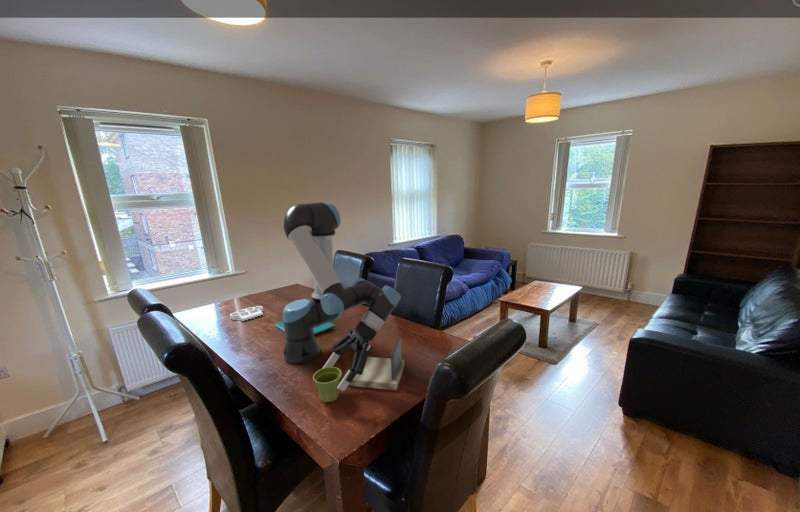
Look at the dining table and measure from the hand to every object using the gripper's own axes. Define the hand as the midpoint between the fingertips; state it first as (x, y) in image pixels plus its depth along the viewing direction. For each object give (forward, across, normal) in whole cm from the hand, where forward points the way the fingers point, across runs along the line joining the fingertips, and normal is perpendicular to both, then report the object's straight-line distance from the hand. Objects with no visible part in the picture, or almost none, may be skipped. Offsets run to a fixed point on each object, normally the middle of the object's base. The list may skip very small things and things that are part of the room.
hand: (332, 379), depth 104 cm
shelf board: (-8, +3, -18) cm, 20 cm away
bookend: (-14, -3, -20) cm, 24 cm away
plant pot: (+6, +1, -4) cm, 7 cm away
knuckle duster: (+15, +99, +5) cm, 101 cm away
